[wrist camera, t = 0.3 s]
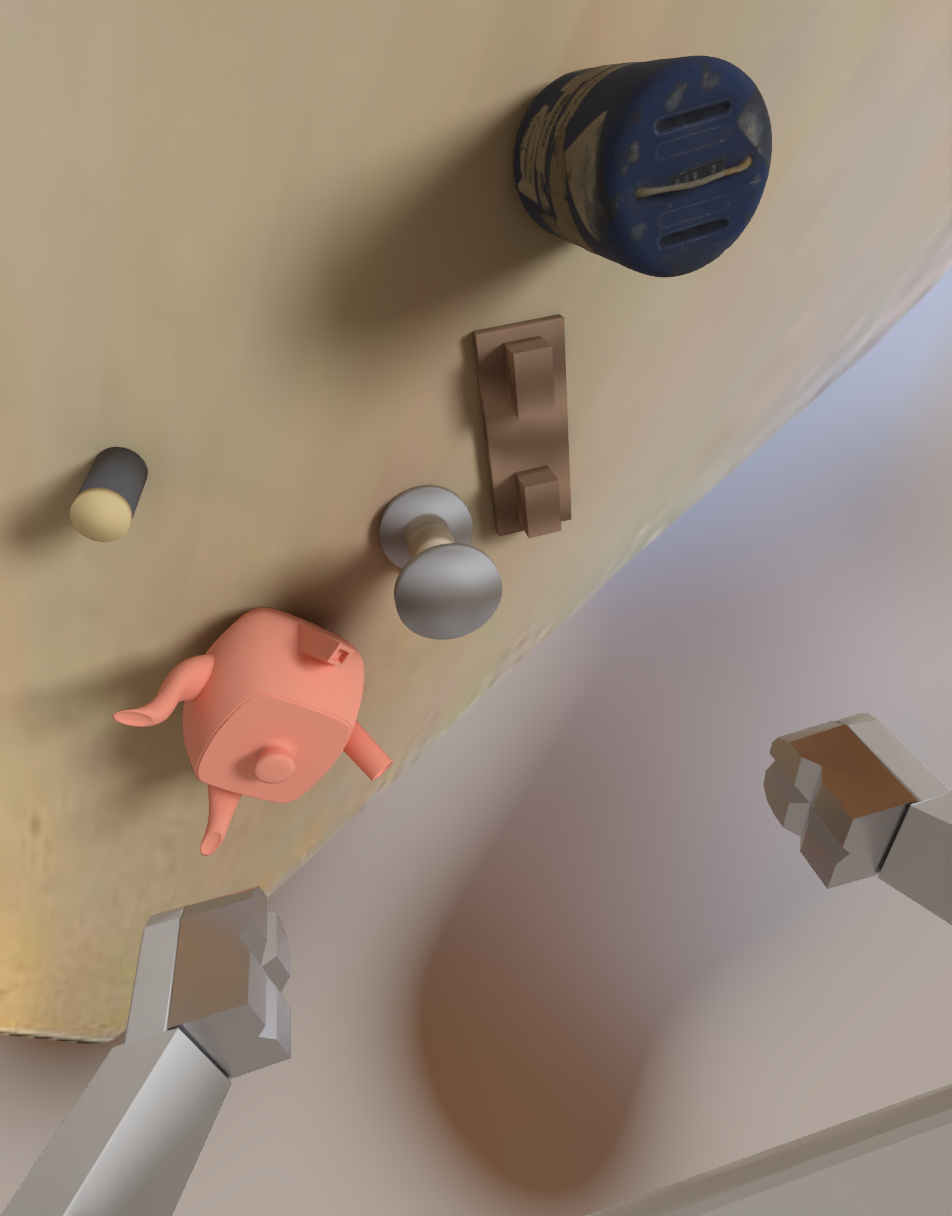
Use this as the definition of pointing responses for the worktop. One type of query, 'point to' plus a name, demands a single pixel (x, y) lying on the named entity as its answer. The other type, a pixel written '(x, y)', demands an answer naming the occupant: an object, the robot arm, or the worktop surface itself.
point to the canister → (646, 160)
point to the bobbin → (438, 564)
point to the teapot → (266, 712)
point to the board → (526, 423)
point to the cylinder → (109, 495)
